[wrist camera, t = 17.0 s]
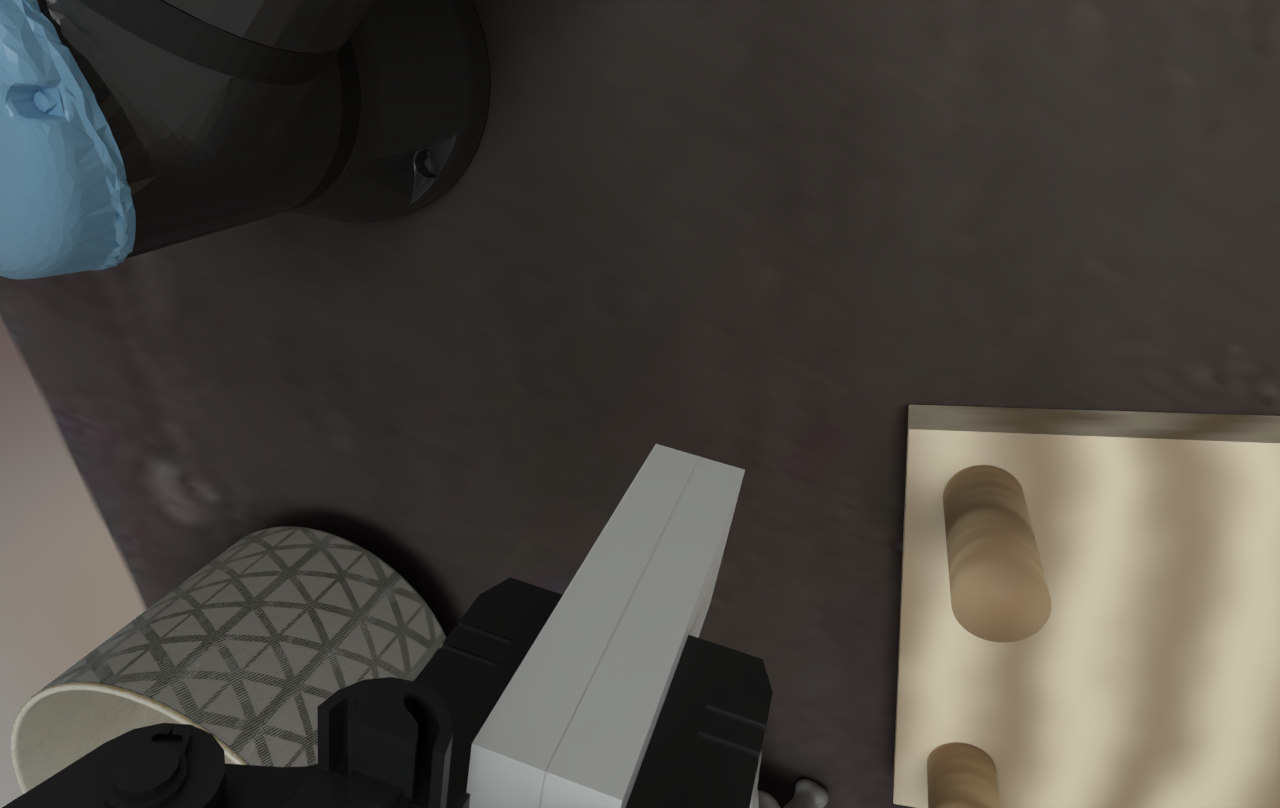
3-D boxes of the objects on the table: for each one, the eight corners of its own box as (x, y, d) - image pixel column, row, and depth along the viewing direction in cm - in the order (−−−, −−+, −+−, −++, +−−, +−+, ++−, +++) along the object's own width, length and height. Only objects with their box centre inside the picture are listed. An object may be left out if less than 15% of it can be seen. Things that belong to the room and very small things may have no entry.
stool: (894, 764, 51) (891, 942, 41) (908, 404, 42) (909, 519, 32) (1381, 837, 44) (1522, 1074, 34) (1524, 423, 35) (1773, 579, 25)
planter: (351, 749, 66) (174, 977, 50) (197, 560, 62) (-47, 740, 46) (529, 683, 58) (385, 931, 42) (363, 460, 54) (135, 638, 38)
